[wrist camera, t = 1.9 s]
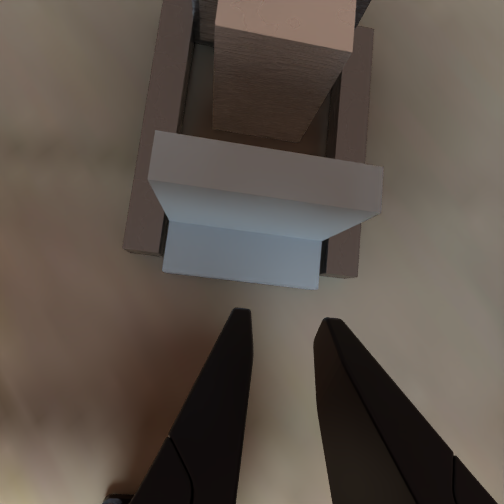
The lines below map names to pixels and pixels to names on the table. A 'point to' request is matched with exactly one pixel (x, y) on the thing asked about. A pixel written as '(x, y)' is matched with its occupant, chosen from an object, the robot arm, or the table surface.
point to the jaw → (255, 208)
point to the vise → (172, 111)
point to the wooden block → (277, 63)
